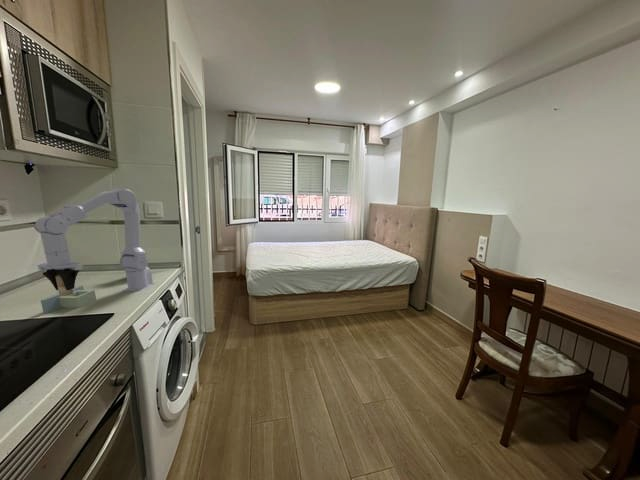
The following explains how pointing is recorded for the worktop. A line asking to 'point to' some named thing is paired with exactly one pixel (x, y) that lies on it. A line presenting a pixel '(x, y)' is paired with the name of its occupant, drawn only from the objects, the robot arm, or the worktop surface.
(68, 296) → the socket block
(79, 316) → the worktop surface
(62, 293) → the dowel
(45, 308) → the backstop wall
